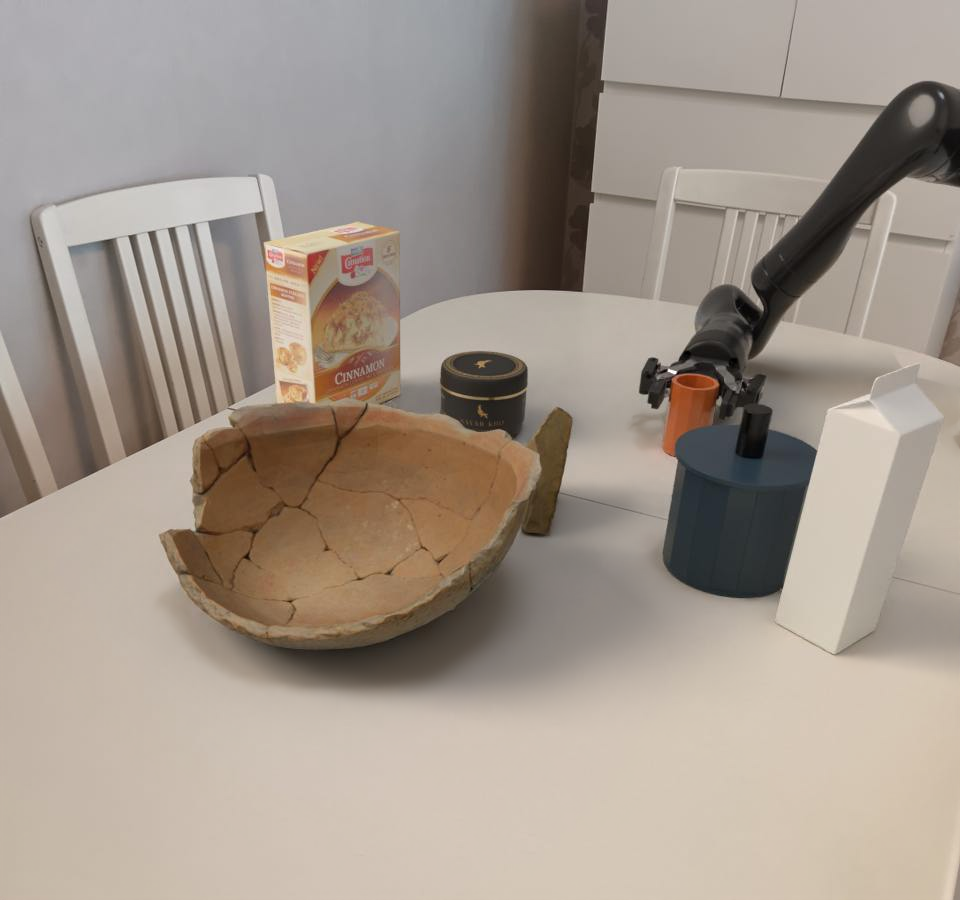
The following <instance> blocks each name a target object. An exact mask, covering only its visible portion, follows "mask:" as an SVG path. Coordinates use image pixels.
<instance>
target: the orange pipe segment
mask: <svg viewBox="0 0 960 900" xmlns="http://www.w3.org/2000/svg"><path fill="white" fill-rule="evenodd" d="M718 390H719V383H718V381H717V380H715V379H713V378H711V377H709V376H705V375H700V374H687V373H686V374H680V375H676V376H675V377H673V378H672V382H671V388H670V395H669V397H668V401H667V408H666V414H665V422H664V428H663V433H662V434H663V435H662V444H661V445H662V447H661V448H662V450H663V452H665V454H667V455H669V456H671V457H675V458H676V456H675V453H674V448H675V443H676V441H677V439H678V438H679V437H680V436H681V435H682V434H684V433H686V432H688V431H690V430H692V429H695V428H699V427H704V426H711V425H713V423H714V422H713V421H714V417H715V411H716V406H717V404H716V401H717V395H718Z"/></svg>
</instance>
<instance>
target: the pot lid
mask: <svg viewBox="0 0 960 900" xmlns="http://www.w3.org/2000/svg"><path fill="white" fill-rule="evenodd" d="M773 413H774V410H773V408H771V407H770V406H768V405H766V404H762V403H758V404H747V405H745V406H744V408H743V407H742V413H741V419H740V423H739V424H712V425H711V426H704V427H699V428H695V429H692V430H690V431H688V432H686V433H684V434H682V435H681V436H680V437H679V438H678V439H677V441H676V443H675V448H674V453H675V456H676V457H675V459H676V460H677V462H678V461H679V462H680V464H681V465H683V466H684V467H685V468H686V469H688V470H689V471H691V472H692V473H694V474H696V475H698V476H700V477H702V478H704V479H707V480H710V481H712V482H715V483H719V484H722V485H726V486H730V487H735V488H740V489H747V490H756V491H785V490H793V489H798V488H802V487H805V486H808V485H809V482H810V479H811V475H812V471H813V467H814V463H815V459H816V455H817V451H818V449H816V448H815V447H814V446H812V445H811V444H809V443H807V442H806V441H804V440H802V439H799V438H798V437H796V436H794V435H790V434H788V433H786V432H785V433H784V432H782V431H778V430H774V429H770V427H771V422H772V418H773Z"/></svg>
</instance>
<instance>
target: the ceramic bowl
mask: <svg viewBox="0 0 960 900" xmlns="http://www.w3.org/2000/svg"><path fill="white" fill-rule="evenodd" d="M227 417H228V421H229V425H230V426H229V427H228V426H227V427H225V426H221V427H216V428H213V429H209V430H207V431H206V432H204V433H203V434H202V435H201V436H199V437H198V438H196V439H195V440H194V442H193V445H192V463H191V465H192V472H193V473H192V475H191V477H190V480H189V482H190V484H191V487H192V500H191V502H192V505H193V506H194V508H193V511H192V514H193V517H194V527H195V528H194V529H195V530H191V529H192V528H178V529H177V528H176V529H174V528H170V529H168V530H165V531H163V532H161V533H159V534H158V537H159V541H160V544H161V545H162V547H163V549H164V551H165V554H166V558H167V559H168V562H169V564H170V565H171V567H172V569H173V571H174V572H175V573H176V575H177V578H178V580H179V584H180V586H181V587H182V589H183V590H184V592H185V593H186V595H187V597H188V599H190V600H191V601H192V602H193V604H194V605H195V606H196V607H198V608H199V609H200V610H201V611H202V612H204V613H206V614H207V615H208V616H210V618H212V619H213V620H215V621H216V622H218V623H220V624H221V625H222V626H224V627H226V628H227V629H229V631H230V630H231V631H233V632H236V633H238V634H240V635H243V636H244V637H247V638H249V639H251V640H255V641H258V642H261V643H264V644H267V645H271V646H273V647H278V648H287V649H291V650H292V649H293V650H309V651H310V650H311V651H312V650H313V651H316V650H317V651H318V650H319V651H322V650H325V651H326V650H339V649H340V650H341V649H342V650H343V649H354V648H363V647H367V646H371V645H375V644H380V643H381V644H382V643H384V642H387V641H389V640H391V639H395V638H397V637H399V636H401V635H404V634H406V633H409V632H411V631H414V630H416V629H418V628H420V627H422V626H425V625H427V624H428V623H430V622H432V621H433V620H435V619H437V618H440V617H441V616H442V615H444V614H446V613H448V612H451V611H453V610H455V609H456V607H457V605H458V604H460V603H461V602H462V601H464V600H465V599H466V598H467V597H468V596H470V595H471V594H472V593H473V592H474V591H475V590H477V589H478V588H479V587H480V586H481V585H482V584H483V583H484V582H485V581H486V580H487V579H488V578H489V577H490V576H491V575H492V574H493V572H495V571H496V570H497V569H498V568H499V567H500V566H501V564H502V562H503V560H504V559H505V557H506V555H507V554H508V552H509V551H510V549H511V548H512V546H513V544H514V543H515V540H516V538H517V535H518V533H519V531H520V529H521V527H522V521H523V517H524V512H525V506H526V503H527V501H528V499H529V497H530V495H531V494H532V493H533V491H534V490H535V487H536V485H537V483H538V482H539V480H540V477H541V465H540V457H541V456H540V454H538V453H536V452H534V451H532V450H531V449H529V448H527V447H524V446H525V445H523V444H522V443H521V442H519V441H517V440H515V439H513V437H511V436H510V435H509V434H508V433H507V432H506V431H504V430H500V429H497V430H492V431H487V432H476V431H473V430H469V429H466V428H465V427H464V426H463V425H462V424H461V423H460V422H459V421H458V420H456V419H454V418H452V417H450V416H447V415H443V414H441V413H432V414H425V413H418V412H412V411H407V410H404V409H400V408H397V407H392V406H388V405H384V404H382V403H380V404H373V403H366V402H363V401H360V400H357V399H353V398H343V399H340V400H338V401H335V402H332V403H329V404H328V405H319V404H314V403H310V402H292V403H277V402H275V403H274V402H273V403H264V404H253V405H245V406H241V407H238V408H237V409H235V410H232V412H231V413H230V414H229V415H228V416H227Z"/></svg>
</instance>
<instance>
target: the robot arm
mask: <svg viewBox="0 0 960 900" xmlns="http://www.w3.org/2000/svg"><path fill="white" fill-rule="evenodd" d="M906 178H909V179H913V180H917V181H921V182H926V183H930V184H936V185H944V186H950V187H953V188H958V189H959V188H960V88H957V87H954V86H952V85H949V84H946V83H943V82H939V81H937V80H936V81H935V80H922V81H921V80H920V81H918V82H915V83H912V84H910V85H909V86H907V87H905V88H903V89H902V90H901V91H900V92H898V94H896V95H895V97H893V98H892V99H891V101H890V102H889V103H888V104H887V105H886V106H885V107H884V108H883V110H882V111H881V112H880V114H879V115H878V116H877V118H875V120H874V121H873V123H872V124H871V125H870V127H869V128H868V130H867V131H866V132H865V134H864V135H863V137H862V138H860V141H859V142H858V144H857V145H856V146H855V148H854V149H853V150H852V152H851V153H850V154H849V155H848V157H847V158H846V160H845V161H844V163H842V165H841V167H840V168H839V169H838V170H837V172H836V173H835V175H834V176H833V177H832V179H831V180H830V181H829V182H828V184H827V186H826V187H825V188H824V189H823V190H822V191H821V193H820V194H819V196H818V197H817V199H816V200H815V201H814V202H813V204H812V205H811V206H810V207H809V208H808V210H807V211H806V212H805V213H804V214H803V215H802V216H801V218H800V219H799V220H797V222H796V223H795V224H794V225H793V226H792V227H791V228H790V229H789V230H788V231H787V232H786V233H785V234H784V235H783V236H782V237H781V238H780V239H779V240H778V241H777V242H776V243H775V244H774V245H773V247H772V248H770V250H769V251H767V253H766V254H765V255H764V256H762V257H761V258H760V260H758V262H757V263H756V264H755V265H754V266H753V268H752V270H751V273H750V283H751V286H752V288H753V290H754V292H755V293H756V296H757V297H758V298H759V301H760V302H761V305H762V308H763V309H762V308H760V307H759V305H757V303H755V302H754V301H753V300H752V299H751V297H749V296H748V295H747V293H745V291H743V290H742V289H741V288H740V287H738V286H737V285H735V284H731V283H723V284H719V285H717V286H715V287H714V288H712V289H711V290H710V291H708V293H707V294H706V295H705V296H704V297H703V299H702V300H701V302H700V303H699V305H698V307H697V310H696V313H695V316H694V331H695V333H694V335H693V336H692V338H690V341H688V343H687V344H686V346H685V348H684V350H683V351H682V352H681V353H680V355H679V357H678V359H677V361H674V362H672V363H671V364H670V365H669V366H668V365H662V362H659V358H657V357H656V356H655V357H654V356H653V357H652V356H651V357H648V358H647V360H646V362H645V364H644V366H643V368H642V369H641V374H640V379H639V380H640V381H639V387H638V394H640V395H642V396H645V395H647V400H646V402H647V404H648V405H651V406H650V408H651V409H653V410H659V408H660V407H661V405H662V403H663V401H664V400H665V399H666V398H669V395H670V388H671V382H672V378H673V377H675V376H676V375H680V374H686V373H687V374H700V375H705V376H709V377H711V378H713V379H715V380H717V381H718V383H719V390H718V395H717V401H716V406H718V407H719V412H718V421H725V422H726V419H727V418H732V417H733V416H734V415H735V413H736V411H738V408H742V409H743V408H744V406H745V405H747V404H760V401H761V400H762V398H763V394H764V390H765V385H766V379H767V375H765V374H763V373H756V374H755V375H754V376H750V377H749V378H746V377H743V375H744V372H745V370H746V368H747V363H748V361H751V360H754V359H755V358H756V357H758V356H759V355H760V354H761V353H762V352H763V350H765V348H766V347H767V345H768V343H769V342H770V341H771V338H772V336H773V335H774V333H775V332H776V330H777V328H778V327H779V324H780V323H781V321H782V320H783V318H784V317H785V315H786V314H787V313H788V312H789V310H790V309H791V308H792V307H793V306H794V305H795V303H796V302H797V301H798V300H799V299H800V298H801V297H803V296H804V295H805V294H806V293H807V292H809V290H810V289H811V288H812V287H814V286H815V284H816V283H818V282H819V281H820V280H821V279H822V278H823V277H824V276H825V275H827V273H828V272H829V271H830V270H831V269H832V267H834V265H835V264H836V262H838V260H839V258H840V257H841V256H842V254H843V252H844V250H845V249H846V246H847V244H848V243H849V240H850V238H851V236H852V235H853V232H854V230H855V228H856V227H857V225H858V223H859V221H860V220H861V218H862V217H863V215H864V214H865V213H866V212H867V210H868V209H870V207H871V206H872V205H874V203H875V202H876V201H877V200H878V199H880V198H881V196H883V195H884V194H885V193H886V192H888V191H889V190H890V189H891V188H893V187H894V186H895V185H897V184H898V183H900V182H901V181H903V180H904V179H906Z"/></svg>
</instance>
